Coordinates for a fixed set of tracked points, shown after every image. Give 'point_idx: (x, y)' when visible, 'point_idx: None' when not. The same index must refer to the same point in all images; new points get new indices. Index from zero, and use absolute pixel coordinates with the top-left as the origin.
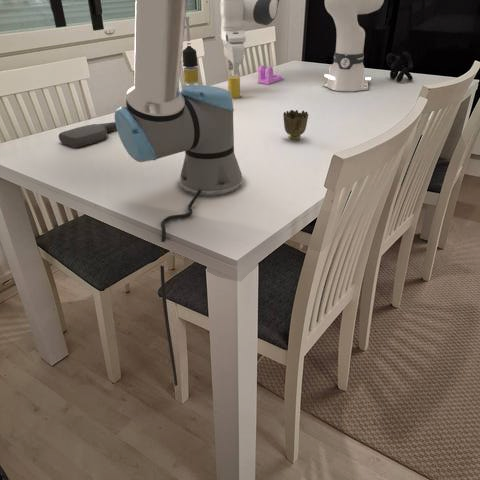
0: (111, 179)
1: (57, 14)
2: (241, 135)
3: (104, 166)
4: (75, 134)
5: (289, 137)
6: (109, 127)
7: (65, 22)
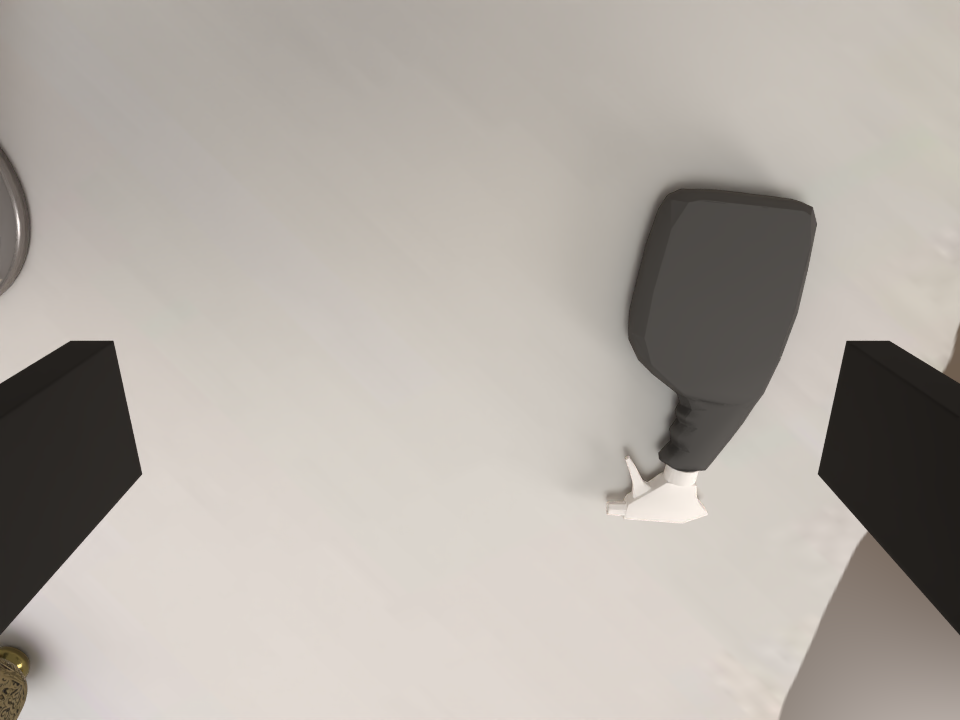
0: (252, 11)
1: (942, 461)
2: (194, 614)
3: (393, 104)
4: (722, 242)
5: (12, 652)
6: (680, 416)
7: (841, 494)
